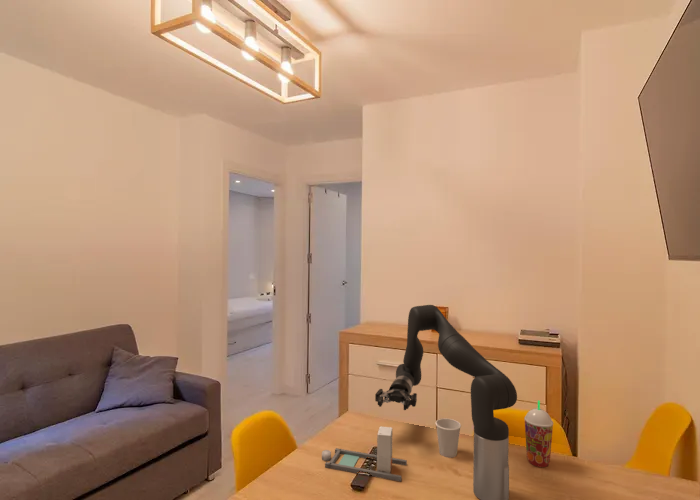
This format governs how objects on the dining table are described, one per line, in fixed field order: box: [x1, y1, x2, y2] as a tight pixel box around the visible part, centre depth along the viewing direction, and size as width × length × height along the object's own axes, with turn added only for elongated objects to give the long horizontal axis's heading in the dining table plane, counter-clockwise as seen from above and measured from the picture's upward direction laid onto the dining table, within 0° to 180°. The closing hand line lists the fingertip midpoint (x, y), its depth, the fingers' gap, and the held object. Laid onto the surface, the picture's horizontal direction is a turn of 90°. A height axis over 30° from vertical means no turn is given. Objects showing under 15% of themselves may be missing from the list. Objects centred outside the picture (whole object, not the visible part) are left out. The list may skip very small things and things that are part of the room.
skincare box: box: [376, 426, 393, 474], centre depth 124 cm, size 6×4×12 cm
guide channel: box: [321, 447, 408, 483], centre depth 127 cm, size 27×10×2 cm, turn 72°
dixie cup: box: [435, 417, 462, 459], centre depth 134 cm, size 8×8×10 cm
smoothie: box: [524, 400, 554, 468], centre depth 128 cm, size 8×8×20 cm
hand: (392, 405), depth 135 cm, fingers open, 8 cm apart
